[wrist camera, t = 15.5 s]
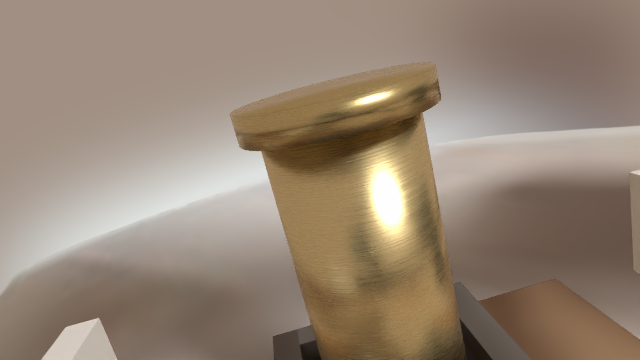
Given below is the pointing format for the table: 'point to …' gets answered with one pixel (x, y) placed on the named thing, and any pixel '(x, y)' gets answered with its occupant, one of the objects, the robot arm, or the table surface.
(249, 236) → the table surface
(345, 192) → the brass fitting
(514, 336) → the wooden board with frame
